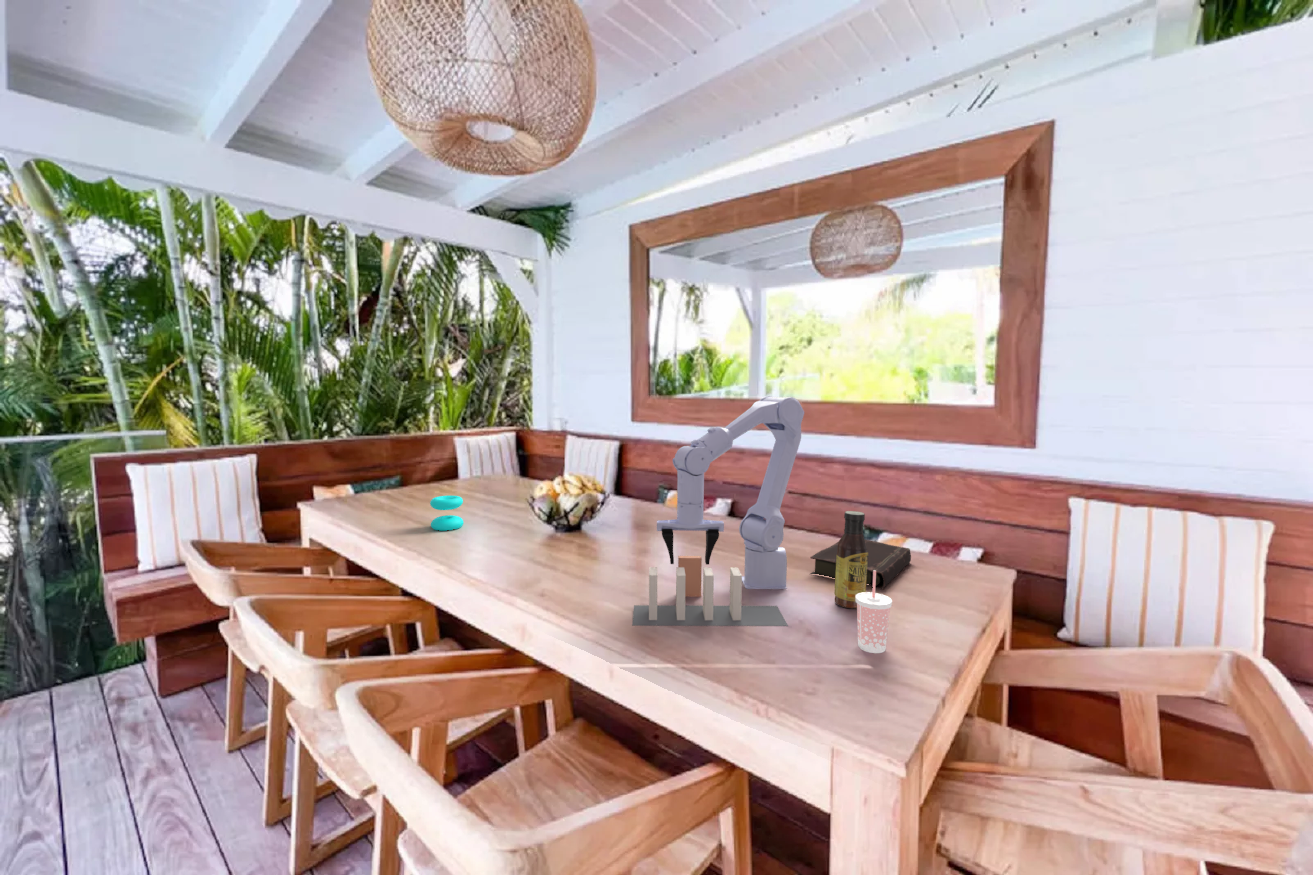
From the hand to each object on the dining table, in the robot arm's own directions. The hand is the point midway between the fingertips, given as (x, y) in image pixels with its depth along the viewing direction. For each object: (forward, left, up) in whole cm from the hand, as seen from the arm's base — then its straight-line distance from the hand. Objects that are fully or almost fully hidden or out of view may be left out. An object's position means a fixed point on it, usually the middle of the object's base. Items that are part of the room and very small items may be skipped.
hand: (689, 563), depth 124 cm
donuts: (+75, -60, -8) cm, 96 cm away
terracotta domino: (0, 0, -8) cm, 8 cm away
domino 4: (-9, +11, -7) cm, 16 cm away
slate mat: (-3, +11, -8) cm, 14 cm away
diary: (-45, -20, -8) cm, 50 cm away
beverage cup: (-31, +24, -8) cm, 40 cm away
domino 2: (+2, +11, -7) cm, 13 cm away
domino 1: (+8, +11, -7) cm, 15 cm away
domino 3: (-3, +11, -7) cm, 14 cm away
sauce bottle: (-34, +4, -8) cm, 35 cm away
